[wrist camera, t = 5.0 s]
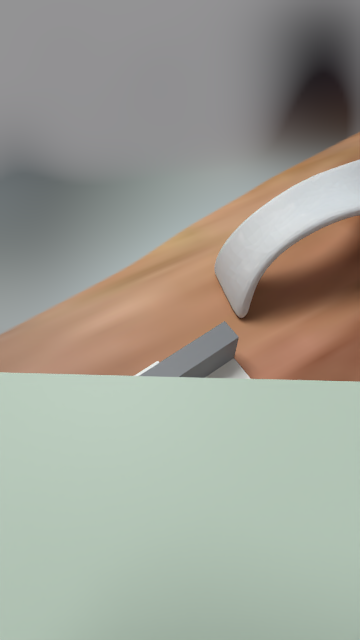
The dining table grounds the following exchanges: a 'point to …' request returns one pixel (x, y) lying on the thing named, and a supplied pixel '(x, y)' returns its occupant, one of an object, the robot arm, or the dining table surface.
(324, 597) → the green carton
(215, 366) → the white plate with rail
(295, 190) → the spoon rest
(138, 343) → the dining table surface
